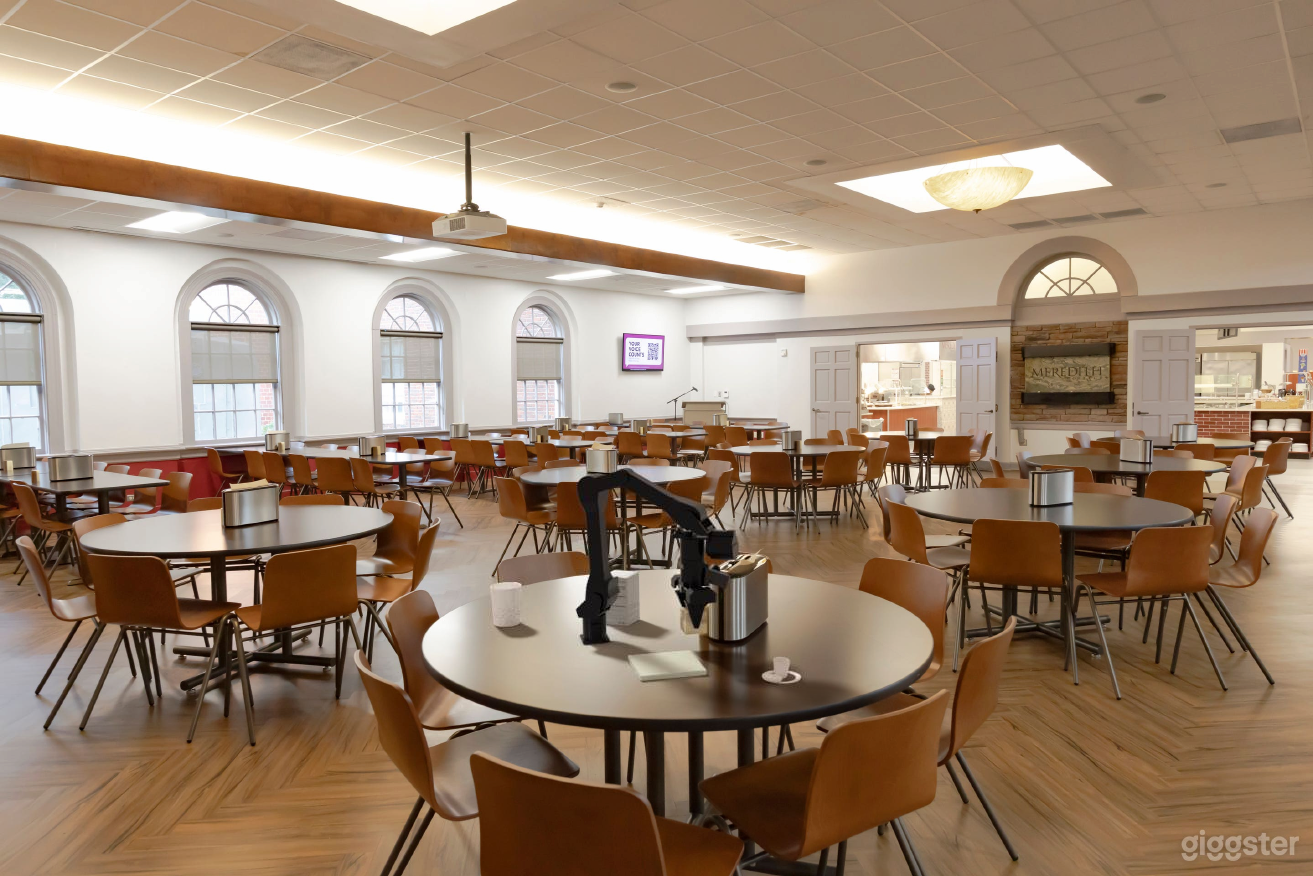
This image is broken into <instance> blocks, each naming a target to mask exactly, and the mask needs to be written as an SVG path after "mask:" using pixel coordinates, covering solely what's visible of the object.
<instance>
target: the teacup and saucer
mask: <svg viewBox="0 0 1313 876" xmlns="http://www.w3.org/2000/svg"><path fill="white" fill-rule="evenodd" d="M772 661H773V662H772V663H773V670H768V671H765V672H764V673H762V674H761V677H762V679H763V680H765V681H766V682H769V683H774V684H791V683H797V682H799V681H800V680H801V679H802V676H801V674H799V673H797V672H795V671H792V670H789V668H790V666H791V665H790V664H791V660H790V659H789V658H787V657H784V656H777V657H776V656H775V657H774V658H773V660H772ZM788 674H791V675H793V676H795V679H792V680H789V681H783V679H786V678H787V676H788Z"/></svg>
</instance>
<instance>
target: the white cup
mask: <svg viewBox="0 0 1313 876" xmlns="http://www.w3.org/2000/svg"><path fill="white" fill-rule="evenodd" d="M490 600H491V609H492V610H491V613H492V618H493V622H492V623H493V625H494V626H495V627H498V628H509V627H515V626H518V625H520V623H521V613H522V583H520V582H514V581H512V582H511V581H505V582H504V581H503V582H497V583H494V584H491V585H490Z"/></svg>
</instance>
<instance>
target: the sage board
mask: <svg viewBox="0 0 1313 876" xmlns="http://www.w3.org/2000/svg"><path fill="white" fill-rule="evenodd" d="M627 660H628V662H629V664H630V665H631V667H632V669H633V671H634V672H635V674H636V675H637V677H638V679H639V680H640V681H641V682H643V681H653V680H663V679H664V680H665V679H675V678H688V677H689V678H690V677H697V676H698V677H699V676H707V669H706V668H705V666H703V664H702V663H701V662H700V661H699V660H698V658H697V657H696V656H695V655H694V653H692V651H691V650H689V649H688V650H677V651H676V650H675V651H665V652H664V651H663V652H662V651H661V652H652V653H650V652H649V653H641V654H630V655H629V654H628V655H627Z"/></svg>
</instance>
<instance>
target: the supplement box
mask: <svg viewBox="0 0 1313 876" xmlns="http://www.w3.org/2000/svg"><path fill="white" fill-rule="evenodd" d="M610 572H611V574H612V576H613V577H616V576H618V578H619V581H618V587H619V590H620V593H618V597H617V600H616V601H615V602H614V603H613V604H612V605H611V608H610V610H609V611H607V612H605V613H606V625H612V626H622V627H629V626H630V625H633V623H636V622H637V621H638V620H640V619H641V617H640V616H641V613H640V612H641V611H640V609H641V608H640V607H641V606H640V573H639V571H635V570H634V571H632V570H619V569H613V570H612V571H610Z"/></svg>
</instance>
